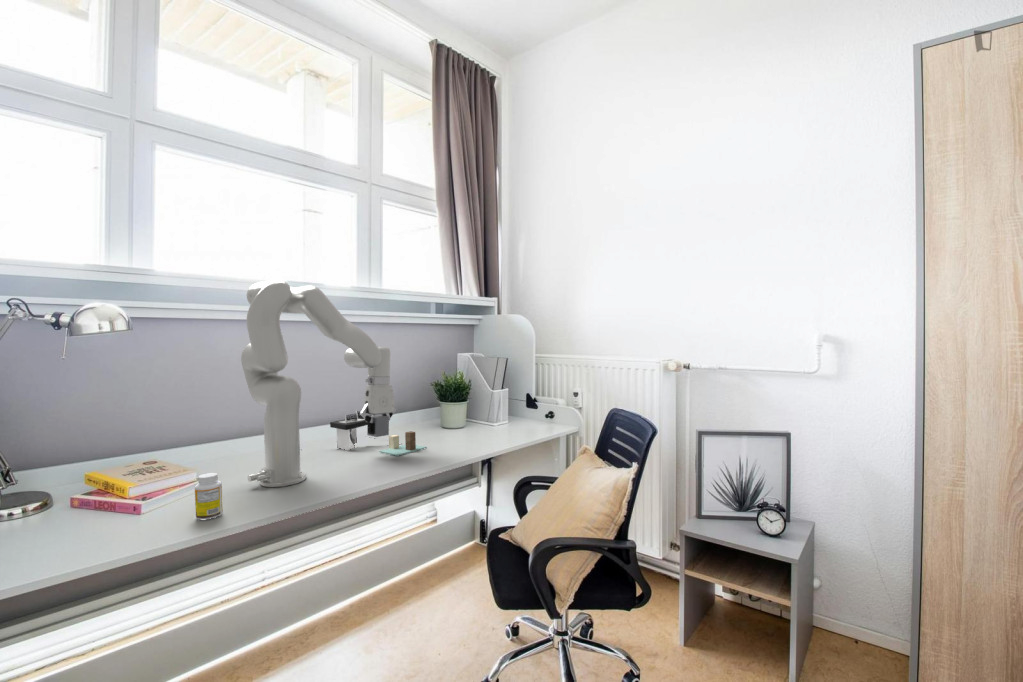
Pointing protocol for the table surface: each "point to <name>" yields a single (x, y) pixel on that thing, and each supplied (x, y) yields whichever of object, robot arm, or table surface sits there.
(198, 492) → the supplement bottle
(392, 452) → the board
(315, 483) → the table surface
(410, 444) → the walnut post
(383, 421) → the grey block
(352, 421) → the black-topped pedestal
